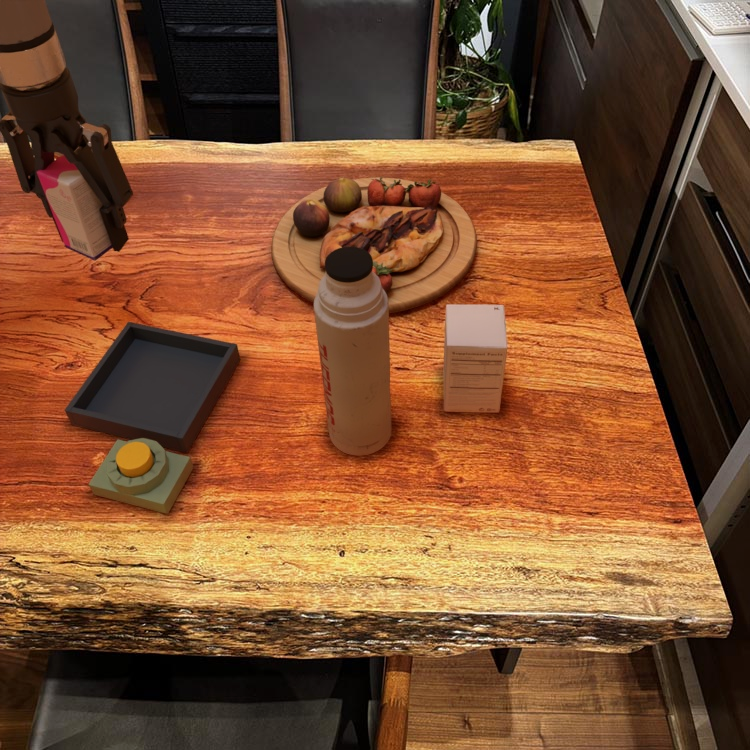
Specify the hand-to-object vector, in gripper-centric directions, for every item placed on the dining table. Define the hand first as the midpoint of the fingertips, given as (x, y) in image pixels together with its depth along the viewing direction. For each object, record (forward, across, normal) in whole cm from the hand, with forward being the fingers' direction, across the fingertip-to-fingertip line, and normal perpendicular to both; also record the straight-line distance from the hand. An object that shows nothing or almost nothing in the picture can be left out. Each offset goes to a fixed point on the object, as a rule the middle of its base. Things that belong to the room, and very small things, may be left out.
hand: (95, 240), depth 105 cm
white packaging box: (+16, -51, 0) cm, 53 cm away
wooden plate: (+16, -30, -25) cm, 42 cm away
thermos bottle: (+16, -38, +10) cm, 43 cm away
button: (+12, -15, +24) cm, 31 cm away
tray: (+15, -10, +11) cm, 21 cm away
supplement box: (+1, 0, 0) cm, 1 cm away
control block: (+15, -15, +24) cm, 33 cm away
